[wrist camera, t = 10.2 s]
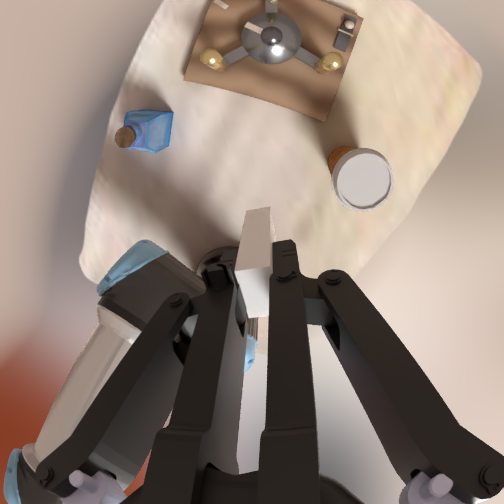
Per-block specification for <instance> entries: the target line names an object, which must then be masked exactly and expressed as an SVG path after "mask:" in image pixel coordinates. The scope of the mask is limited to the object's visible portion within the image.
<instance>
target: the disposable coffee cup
mask: <svg viewBox="0 0 504 504" xmlns="http://www.w3.org/2000/svg"><path fill="white" fill-rule="evenodd" d="M328 167H329V170H330V173H331V177H332V189H333V191H334V194H335V196H336V198H337V199H338V201H339V202H340V203H341V204H342V205H343V206H345V207H347V208H348V209H351V210H354V211H361V212H367V211H372V210H375V209H377V208H379V207H380V206H382V205H383V204H384V203H385V202H386V201H387V199H388V198H389V196H390V195H391V192H392V189H393V182H394V180H393V172H392V168H391V166H390V164H389V162H388V161H387V159H386V158H385V157H384V156H383V155H382V154H380V153H379V152H377V151H375V150H372V149H368V148H359V149H356V148H351V147H340V148H338V149H336V150H335V151H333V152H332V154H331V155H330V157H329V161H328Z"/></svg>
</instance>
